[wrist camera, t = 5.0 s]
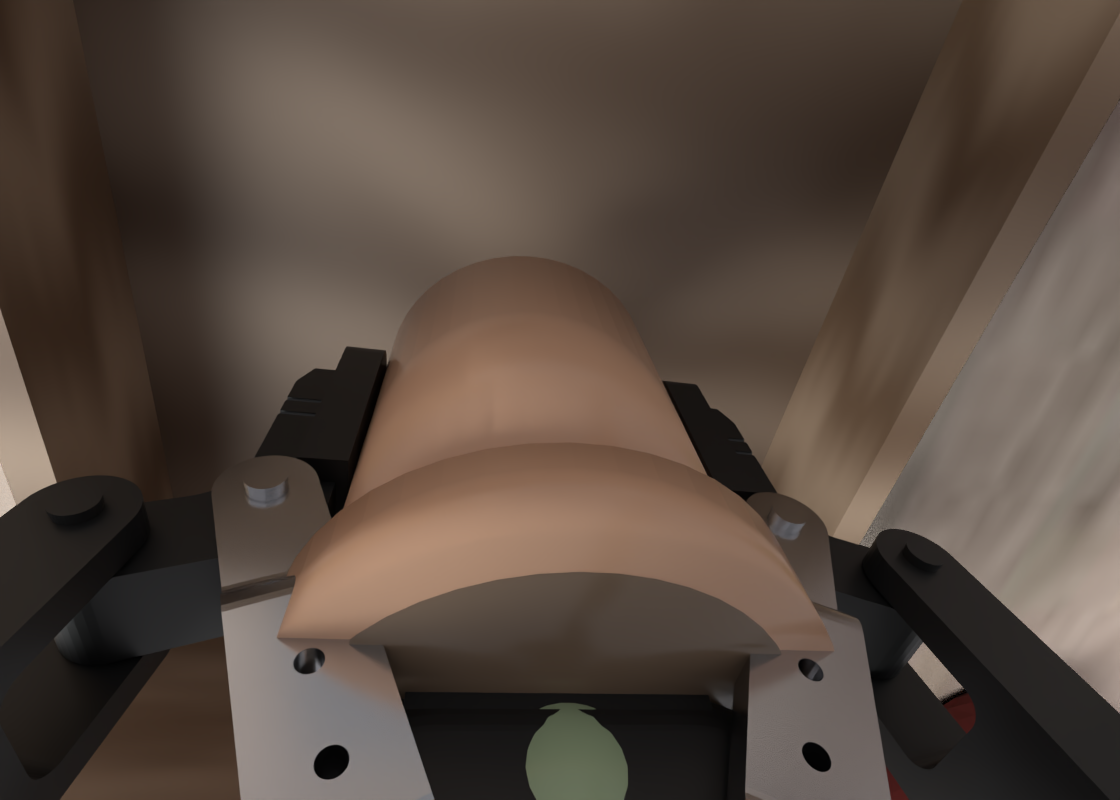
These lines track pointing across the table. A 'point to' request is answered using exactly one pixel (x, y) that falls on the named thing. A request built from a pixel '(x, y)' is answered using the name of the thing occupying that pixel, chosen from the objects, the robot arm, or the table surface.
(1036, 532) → the table surface
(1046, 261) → the table surface
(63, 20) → the box
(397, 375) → the seedling pot
